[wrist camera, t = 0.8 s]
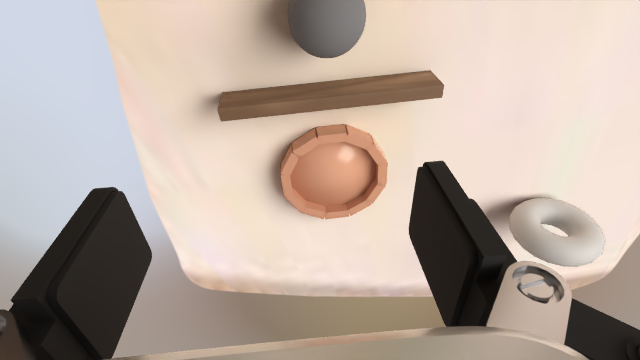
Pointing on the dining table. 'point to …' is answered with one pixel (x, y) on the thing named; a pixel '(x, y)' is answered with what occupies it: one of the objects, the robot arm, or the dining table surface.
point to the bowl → (333, 171)
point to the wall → (329, 95)
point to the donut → (549, 246)
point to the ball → (326, 25)
